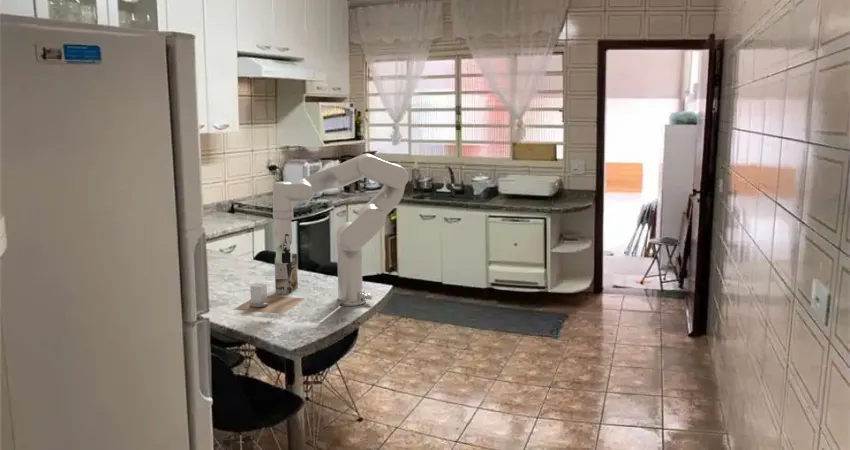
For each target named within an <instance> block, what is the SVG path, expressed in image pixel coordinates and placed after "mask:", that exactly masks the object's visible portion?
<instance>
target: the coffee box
mask: <svg viewBox="0 0 850 450" xmlns="http://www.w3.org/2000/svg"><path fill="white" fill-rule="evenodd" d="M298 278H299V277H298V253H292V262H290V263H288V264H279V263H277V262H276V256H275V257H274V282H275V284H274V285H275V293H276V294H286V295H287V294H288V295H289V294H292V293H293V292H294V291H296V290H297V289H298V288H299V285H298V284H299V283H298V281H299V280H298Z"/></svg>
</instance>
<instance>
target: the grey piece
mask: <svg viewBox="0 0 850 450" xmlns="http://www.w3.org/2000/svg"><path fill="white" fill-rule="evenodd" d="M267 286H268V285H267V283H259V282H256V283H254V284H252V285H250V287H249V288H250V290H249V291H250V300H251V303H250V307H252V308H264V307H267V306H268V301H267V295H268V293H267V292H268V289H267V288H268V287H267Z"/></svg>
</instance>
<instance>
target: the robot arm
mask: <svg viewBox="0 0 850 450" xmlns="http://www.w3.org/2000/svg"><path fill="white" fill-rule="evenodd" d="M362 179H368V180H371V181H373V182H376V183H380V184H381V185H383V186H382V188H381V189H380V191H378V192H377V194H376V195H374V196H373V197H372V198H371V199H370V200H369V201H368V202H366V204H364V205H363V206H362V207H361V208H360V209H359V210H358V214H357V218H355V220H353V221H352V222H351V221H346V222H344V223H342V224H340V225H339V226H338V228H337V230H336V234H335V235H336V238H335V239H336V249H337V250H336V253H337V254H336V255H337V292H338V293H337V296H338V297H337V298H338V300H339V301H341V303H340V304H339V306H345V307H354V306H360V305H364V304H365V303H366V302H367V300H368V301H370V300H373V294H372V293H367V292H365V289H364V288H363V252H362V251H363V247H364V246H366V245H367V244H368V243H369V241H371V240H372V239H373V238H374V237H375V236H376V235H377V234H378V233H380V231H381V230H382V229H383V228H384V226H385V223H386V217H387V215H389V214H390V213H391V212H392V211H393V210H394V209H395V208H396V207H397V206H398V204H399V203H400V202H401V200H402V198H403V196H404V193H405V189H406V187H405V186H406V185H407V184H408V182H409V179H410V178H409V173H408V170H407V169H406V168H405V167H403V166H401V165H400V164H397V163H392V162H389V161H386V160H383V159H381V158H379V157H377V156H375V155H373V154H371V153H363V154H360V155H358V156H355V157H353V158H351V159H348V160H345V161H343V162H341V163H338V164H336V165H333V166H331V167H328V168H326V169H323V170H320V171H318V172H315V173H312V174H310V175H307V176H306V177H303V178H301V179H299V180H297V181H296V182H294V183H292V182H291V181H275V182H274V183H272V219H274V222H273V223H274V225H273V242H274V243H275V244H277V247H282V251H283V253H282V263H290V262H291V254H290V247H291V245H292V244H293V231H292V230H293V227H292V220H293V219H294V202H298V203H307V202H309V201H311V200H312V199H313V198H314V195H315V194H319V193H321V192H323V191H327V190H331V189H339V188H343V187H346V186H348V185H350V184H352V183H355V182H357V181H361V180H362ZM277 247H276V248H277ZM284 247H285V249H284Z"/></svg>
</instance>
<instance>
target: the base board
mask: <svg viewBox="0 0 850 450" xmlns="http://www.w3.org/2000/svg"><path fill="white" fill-rule="evenodd" d="M304 300H305V297H304V298H303V297H302V298H301V297H293V296H292V297H291V296H279V295H278V296H277V295H268V294H267V301H268V306H267V307H264V308H252V307H250V303H251V299H249V300H247V301H245V302H244V303H242V304H240V305H239V306H237V307H235V308H233V310H236V311H244V312H245V311H246V312H257V313H259V312H260V313H271V314H278V315H279V314H281V315H283V314H284V313H286V312H288V311H290V310H291V309H292V308H294V307H295V306H296V305H298V304H300V303H301V302H302V301H304Z"/></svg>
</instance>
